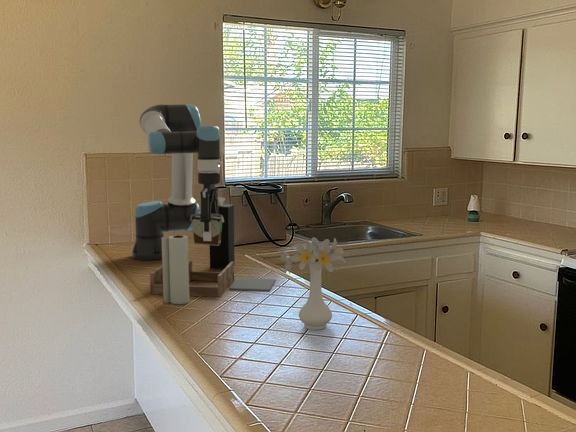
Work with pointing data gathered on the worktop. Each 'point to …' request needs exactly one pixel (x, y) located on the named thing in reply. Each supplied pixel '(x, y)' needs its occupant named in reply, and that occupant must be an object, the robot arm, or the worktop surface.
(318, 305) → the flower vase
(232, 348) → the worktop surface
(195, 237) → the food container
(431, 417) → the worktop surface
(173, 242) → the paper towel roll
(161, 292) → the rack
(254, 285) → the mat
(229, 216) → the black bar
